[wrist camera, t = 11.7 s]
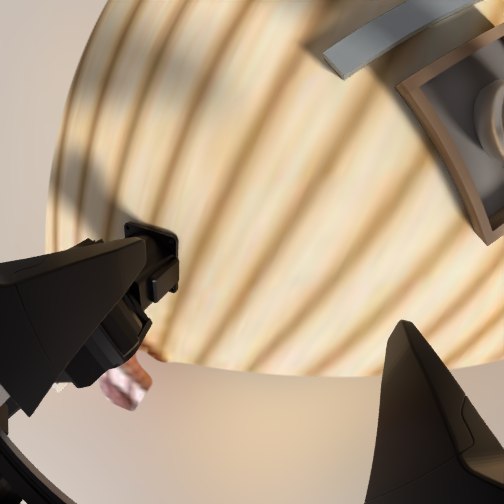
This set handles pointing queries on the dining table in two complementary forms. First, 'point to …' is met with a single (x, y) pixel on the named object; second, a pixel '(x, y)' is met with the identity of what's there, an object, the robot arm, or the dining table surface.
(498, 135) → the plastic bottle
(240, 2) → the dining table surface
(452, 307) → the dining table surface
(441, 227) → the dining table surface
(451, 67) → the brown square tray
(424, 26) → the door edge strip
